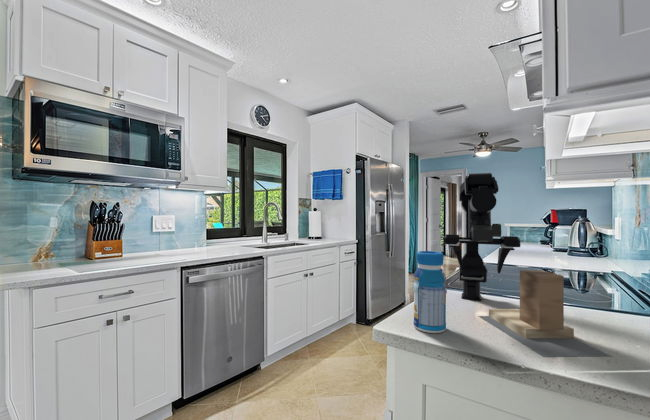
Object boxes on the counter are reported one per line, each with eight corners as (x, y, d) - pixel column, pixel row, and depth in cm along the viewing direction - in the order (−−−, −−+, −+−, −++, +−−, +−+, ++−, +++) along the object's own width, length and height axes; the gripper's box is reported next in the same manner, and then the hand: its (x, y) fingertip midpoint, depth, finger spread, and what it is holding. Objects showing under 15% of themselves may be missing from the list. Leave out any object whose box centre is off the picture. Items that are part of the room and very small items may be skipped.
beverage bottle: (429, 336, 75) (430, 255, 75) (406, 325, 82) (406, 251, 82) (453, 331, 78) (454, 253, 79) (429, 320, 86) (429, 249, 86)
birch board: (488, 316, 89) (488, 308, 89) (528, 316, 89) (528, 308, 89) (525, 338, 73) (525, 329, 73) (573, 337, 74) (573, 328, 74)
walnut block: (519, 319, 80) (519, 270, 80) (541, 319, 80) (541, 270, 80) (539, 329, 73) (539, 275, 73) (563, 329, 73) (563, 275, 73)
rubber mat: (477, 317, 89) (477, 316, 89) (527, 316, 90) (527, 315, 90) (543, 358, 64) (543, 356, 64) (612, 357, 64) (612, 356, 64)
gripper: (444, 212, 82) (444, 271, 81) (524, 213, 76) (526, 277, 74) (444, 217, 93) (444, 269, 91) (515, 218, 86) (516, 274, 84)
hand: (480, 272), depth 85 cm, fingers open, 9 cm apart
